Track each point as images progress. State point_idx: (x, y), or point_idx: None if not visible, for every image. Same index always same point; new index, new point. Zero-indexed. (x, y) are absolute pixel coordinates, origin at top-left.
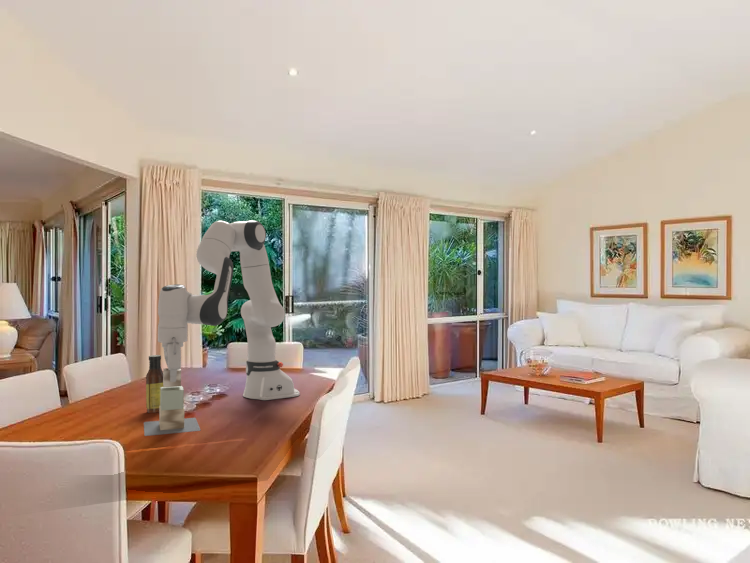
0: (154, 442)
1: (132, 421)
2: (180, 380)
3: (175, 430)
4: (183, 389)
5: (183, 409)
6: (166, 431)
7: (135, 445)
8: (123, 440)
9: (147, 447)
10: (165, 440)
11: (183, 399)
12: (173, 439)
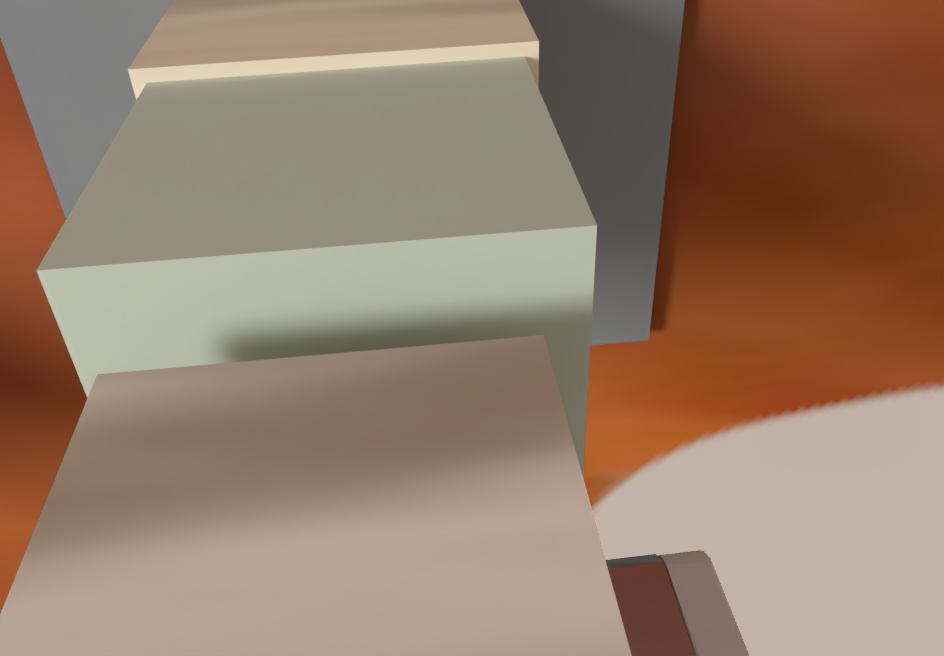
0: (828, 243)
1: (18, 463)
2: (570, 457)
3: (574, 67)
4: (564, 232)
5: (537, 54)
6: (576, 162)
7: (827, 369)
8: (640, 454)
9: (940, 285)
10: (820, 153)
11: (552, 126)
12: (830, 77)
